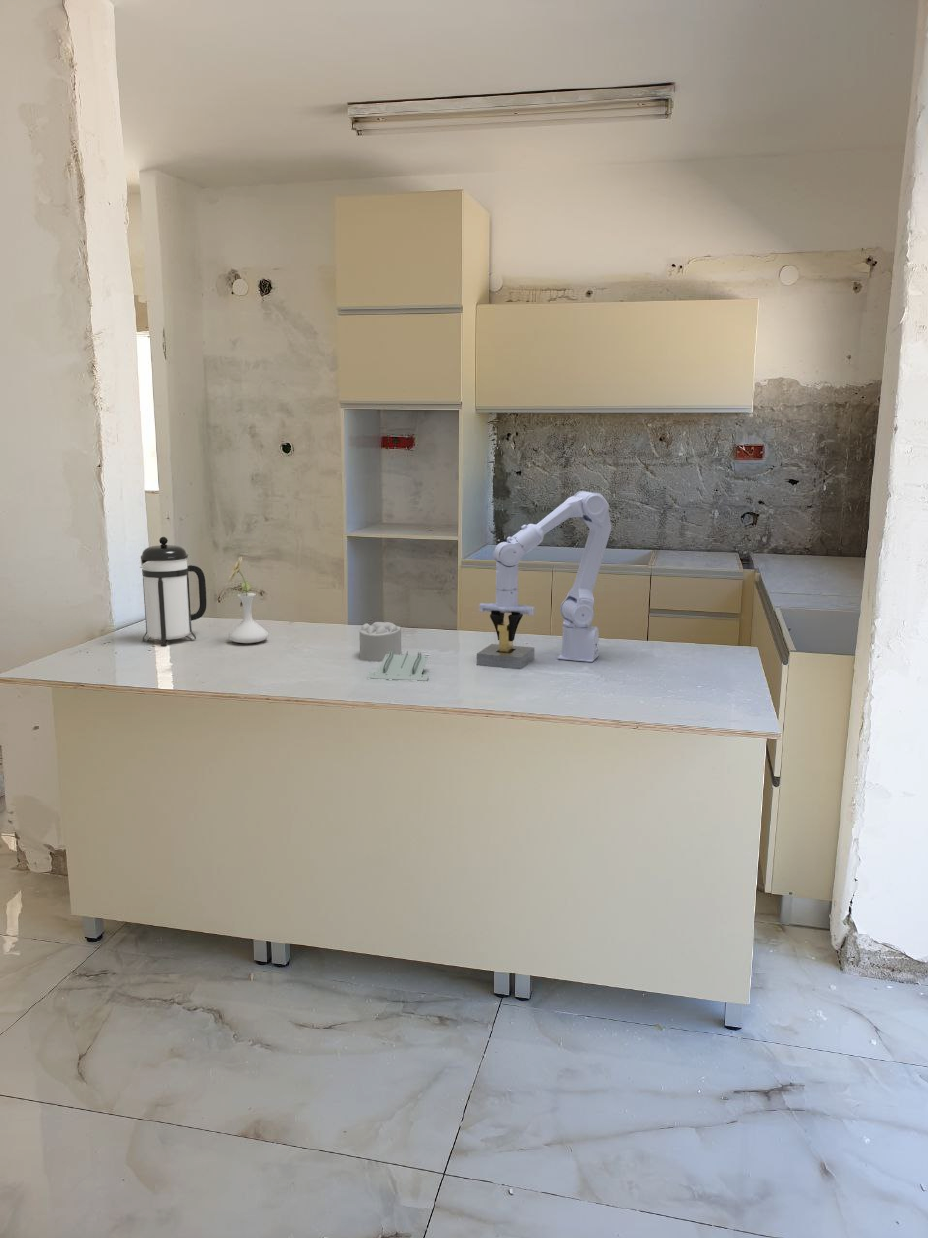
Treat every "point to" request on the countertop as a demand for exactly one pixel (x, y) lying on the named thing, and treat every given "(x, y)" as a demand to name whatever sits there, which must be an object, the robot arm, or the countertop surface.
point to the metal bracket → (401, 667)
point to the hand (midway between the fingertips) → (506, 640)
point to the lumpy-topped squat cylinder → (379, 640)
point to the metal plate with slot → (505, 657)
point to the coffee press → (169, 592)
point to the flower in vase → (246, 616)
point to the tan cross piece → (504, 637)
